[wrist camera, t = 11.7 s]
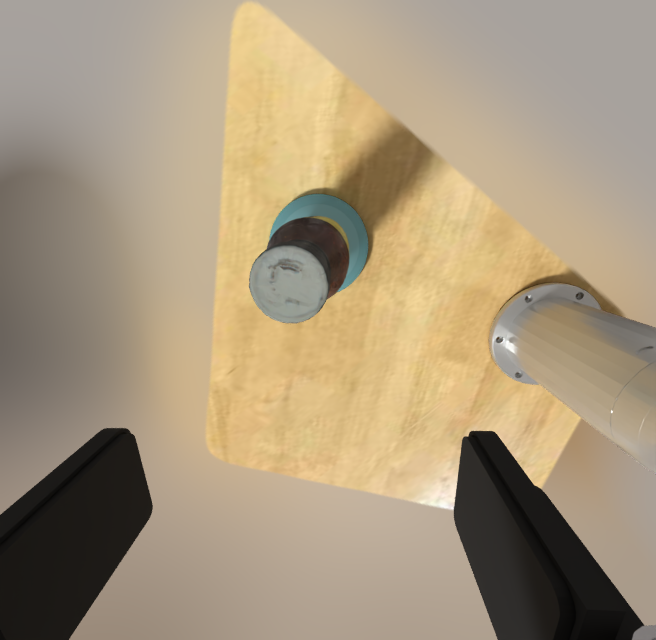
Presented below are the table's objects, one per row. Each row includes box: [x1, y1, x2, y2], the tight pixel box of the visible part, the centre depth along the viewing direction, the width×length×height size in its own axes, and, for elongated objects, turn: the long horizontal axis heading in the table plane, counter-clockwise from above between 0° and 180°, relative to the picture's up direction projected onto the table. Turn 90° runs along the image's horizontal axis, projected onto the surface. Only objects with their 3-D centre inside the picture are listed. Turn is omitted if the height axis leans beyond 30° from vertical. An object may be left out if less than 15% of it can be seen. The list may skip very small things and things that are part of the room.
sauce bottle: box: [249, 216, 350, 323], centre depth 24 cm, size 6×6×20 cm
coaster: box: [270, 194, 368, 292], centre depth 34 cm, size 11×11×1 cm
